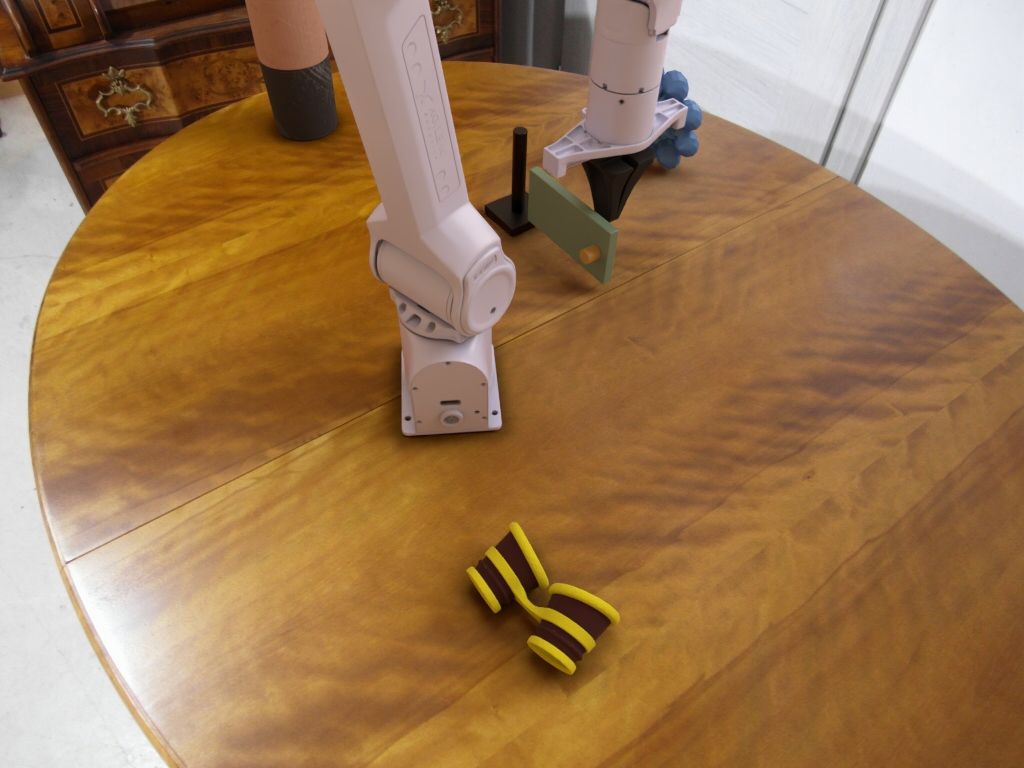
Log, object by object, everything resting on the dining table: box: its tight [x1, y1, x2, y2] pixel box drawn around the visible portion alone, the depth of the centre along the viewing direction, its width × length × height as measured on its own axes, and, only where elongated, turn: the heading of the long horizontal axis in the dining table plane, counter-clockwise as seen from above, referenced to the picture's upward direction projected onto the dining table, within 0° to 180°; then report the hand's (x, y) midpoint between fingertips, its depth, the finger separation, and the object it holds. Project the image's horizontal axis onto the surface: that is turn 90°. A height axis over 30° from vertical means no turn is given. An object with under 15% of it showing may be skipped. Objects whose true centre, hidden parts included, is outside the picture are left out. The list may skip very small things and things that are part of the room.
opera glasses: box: [465, 521, 621, 676], centre depth 51 cm, size 10×5×5 cm, turn 45°
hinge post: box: [484, 126, 536, 238], centre depth 77 cm, size 5×5×10 cm
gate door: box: [528, 166, 619, 286], centre depth 73 cm, size 12×2×6 cm, turn 36°
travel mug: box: [244, 0, 338, 142], centre depth 84 cm, size 8×8×20 cm
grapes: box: [649, 66, 703, 170], centre depth 83 cm, size 12×7×12 cm, turn 54°
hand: (606, 215), depth 73 cm, fingers closed
